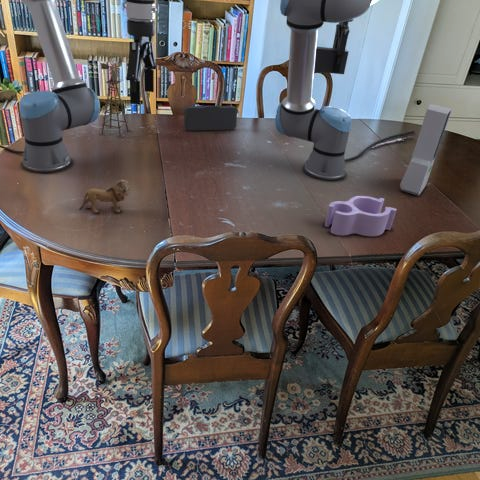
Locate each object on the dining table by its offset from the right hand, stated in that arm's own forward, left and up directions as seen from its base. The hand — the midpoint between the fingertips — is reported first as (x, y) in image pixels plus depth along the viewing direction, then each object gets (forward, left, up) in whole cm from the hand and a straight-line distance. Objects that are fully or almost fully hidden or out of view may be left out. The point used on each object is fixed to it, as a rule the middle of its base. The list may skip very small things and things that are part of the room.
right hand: (334, 70), depth 195 cm
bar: (+6, -3, -1) cm, 7 cm away
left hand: (+90, +21, 0) cm, 93 cm away
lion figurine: (+106, +34, -28) cm, 115 cm away
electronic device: (+1, +55, -28) cm, 62 cm away
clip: (+40, +69, -28) cm, 85 cm away
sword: (-26, +18, -28) cm, 43 cm away
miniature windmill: (+86, -25, -28) cm, 94 cm away
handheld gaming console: (+47, -19, -28) cm, 58 cm away
